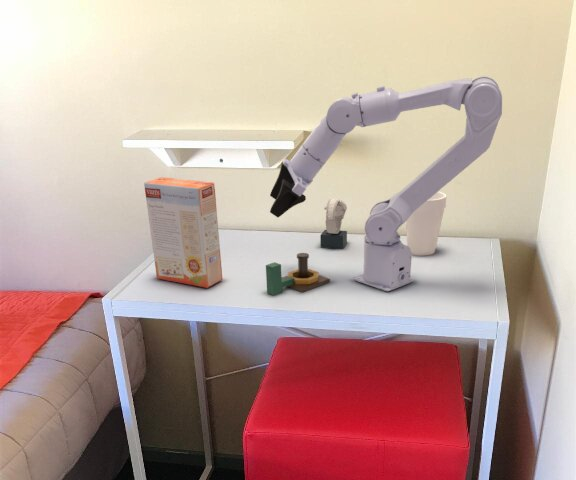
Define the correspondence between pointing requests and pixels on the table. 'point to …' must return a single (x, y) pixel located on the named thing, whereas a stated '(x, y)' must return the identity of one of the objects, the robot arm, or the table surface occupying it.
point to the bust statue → (334, 225)
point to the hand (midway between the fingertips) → (274, 205)
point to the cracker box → (184, 231)
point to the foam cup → (425, 225)
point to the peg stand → (306, 275)
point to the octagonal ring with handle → (277, 283)
